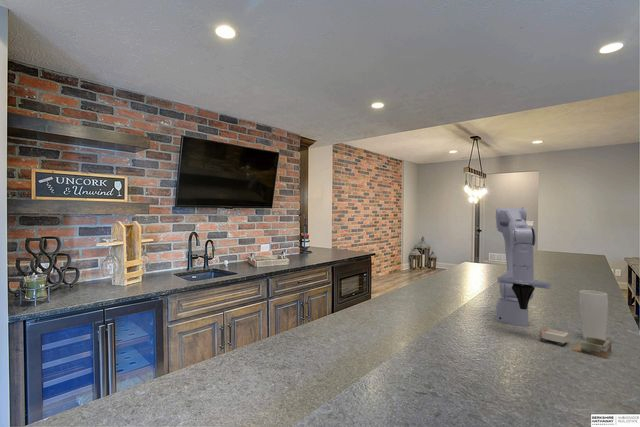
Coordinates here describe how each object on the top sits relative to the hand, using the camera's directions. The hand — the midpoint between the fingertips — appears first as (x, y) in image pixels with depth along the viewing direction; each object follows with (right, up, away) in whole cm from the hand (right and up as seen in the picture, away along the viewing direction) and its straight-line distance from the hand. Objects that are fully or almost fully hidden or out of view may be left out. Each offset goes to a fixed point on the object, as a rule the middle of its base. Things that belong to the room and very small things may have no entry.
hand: (523, 308), depth 102 cm
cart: (+5, -8, -6) cm, 11 cm away
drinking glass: (+20, -9, -3) cm, 22 cm away
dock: (+7, -9, -8) cm, 14 cm away
